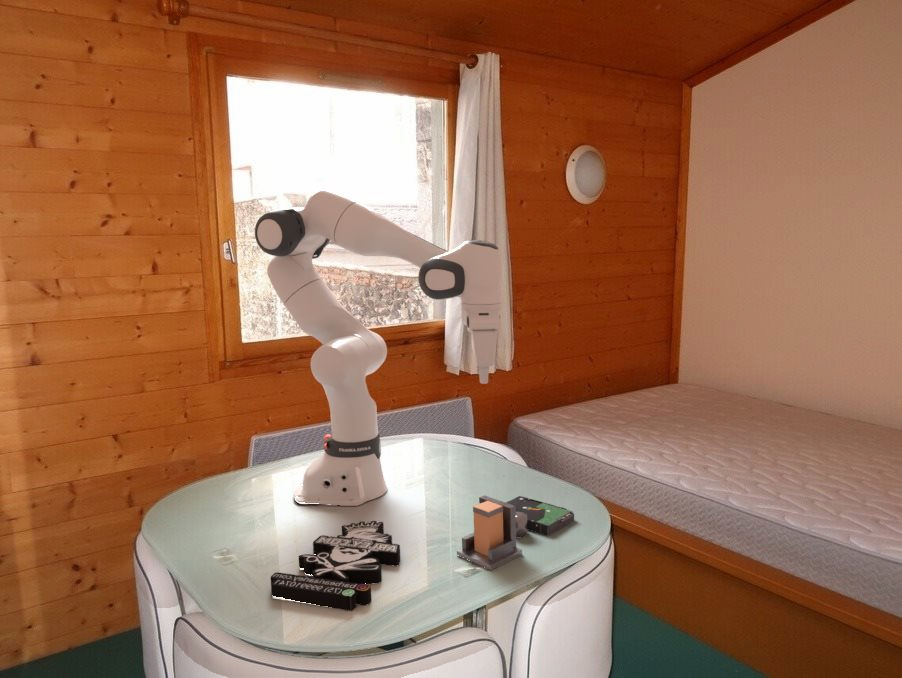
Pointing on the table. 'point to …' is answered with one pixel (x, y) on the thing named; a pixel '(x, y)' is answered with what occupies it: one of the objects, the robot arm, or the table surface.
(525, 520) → the link stub
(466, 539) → the keeper
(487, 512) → the orange tall block
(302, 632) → the table surface
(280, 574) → the sign
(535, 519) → the disk drive
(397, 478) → the table surface
